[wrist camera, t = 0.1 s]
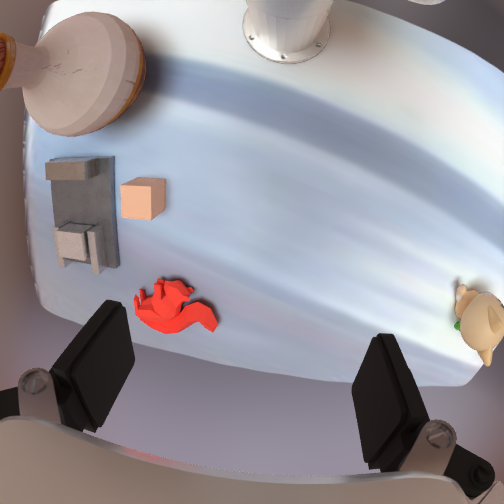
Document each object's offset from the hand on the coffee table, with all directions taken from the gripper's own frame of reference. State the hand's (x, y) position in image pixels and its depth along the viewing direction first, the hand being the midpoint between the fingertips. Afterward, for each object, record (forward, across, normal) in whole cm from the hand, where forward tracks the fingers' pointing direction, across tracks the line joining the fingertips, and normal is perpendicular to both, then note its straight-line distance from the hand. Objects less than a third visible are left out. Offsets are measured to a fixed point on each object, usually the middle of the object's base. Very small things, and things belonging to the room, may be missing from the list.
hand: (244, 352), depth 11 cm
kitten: (+37, -43, +18) cm, 60 cm away
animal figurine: (+37, +14, +24) cm, 46 cm away
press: (+37, +33, +8) cm, 50 cm away
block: (+37, +19, +4) cm, 42 cm away
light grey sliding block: (+35, +33, +12) cm, 50 cm away
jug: (+37, +27, -15) cm, 48 cm away
